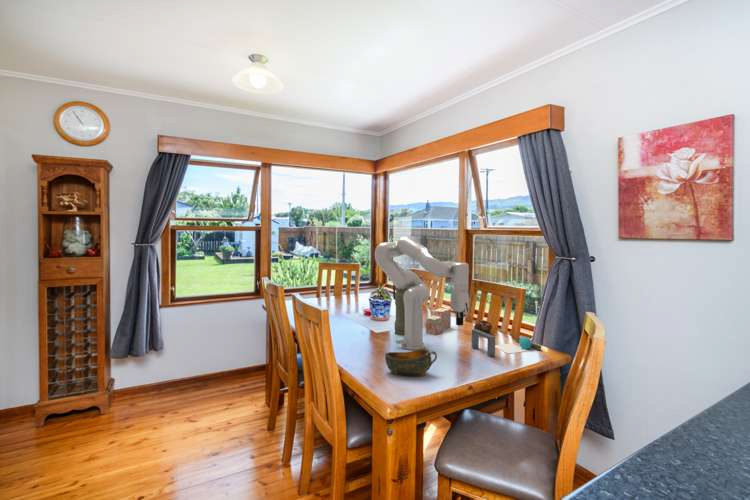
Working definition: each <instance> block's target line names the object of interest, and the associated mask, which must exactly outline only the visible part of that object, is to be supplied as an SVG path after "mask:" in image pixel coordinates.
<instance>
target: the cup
mask: <svg viewBox="0 0 750 500" xmlns="http://www.w3.org/2000/svg"><path fill="white" fill-rule="evenodd" d="M431 355H434V358H433V360H432V357H431ZM384 357H385V363H386V366H387V368H388V369H389V371H390V372H391V374H392V375H395V376H398V377H406V378H421V377H424V376H425V375H426V373H427V372H428V371H429V370H430V368H431V367H432V365H433V364H434V363H435V361H436V360H437V359H438V354H437V352H436V351H433V350H432V351H430V350H429V349H427V348H426V349H425V348H423V349H420V350H410V351H402V352H397V351H395V352H393V351H392V352H389V351H388V352H385V353H384Z"/></svg>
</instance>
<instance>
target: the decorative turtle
mask: <svg viewBox="0 0 750 500" xmlns="http://www.w3.org/2000/svg"><path fill="white" fill-rule="evenodd" d="M492 328H493V325H492V324H491V323H490V322H489V321H486V320H479V321H478V322H475V324H474V326H473V330H474V329H477V330H480V331H482V332H485V333H487V334H490V332H491V331H492Z"/></svg>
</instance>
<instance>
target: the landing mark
mask: <svg viewBox="0 0 750 500" xmlns="http://www.w3.org/2000/svg"><path fill="white" fill-rule="evenodd" d="M495 349H496V350H500V351H501V352H504V353H506V354H510V355H511V354H518V353H525V352H529V349H523V348H522V347H521V346H520V345H519V346H518V345H517V344H513V343H504V344H495Z"/></svg>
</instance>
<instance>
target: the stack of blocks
mask: <svg viewBox="0 0 750 500" xmlns="http://www.w3.org/2000/svg"><path fill="white" fill-rule="evenodd" d="M451 311H452V309H451V308H446V307H441V308H440V307H439V308H437V309H434V310H433V313H432V315H430V316H429V317H426V320H425V322H426V323H425V334H429V335H434V336H435V335H438V334H440V333H441V332H444V331H446V330H448V329H451V326H452V324H451V322H452V321H451V318H452V317H451V316H452V312H451Z"/></svg>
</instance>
